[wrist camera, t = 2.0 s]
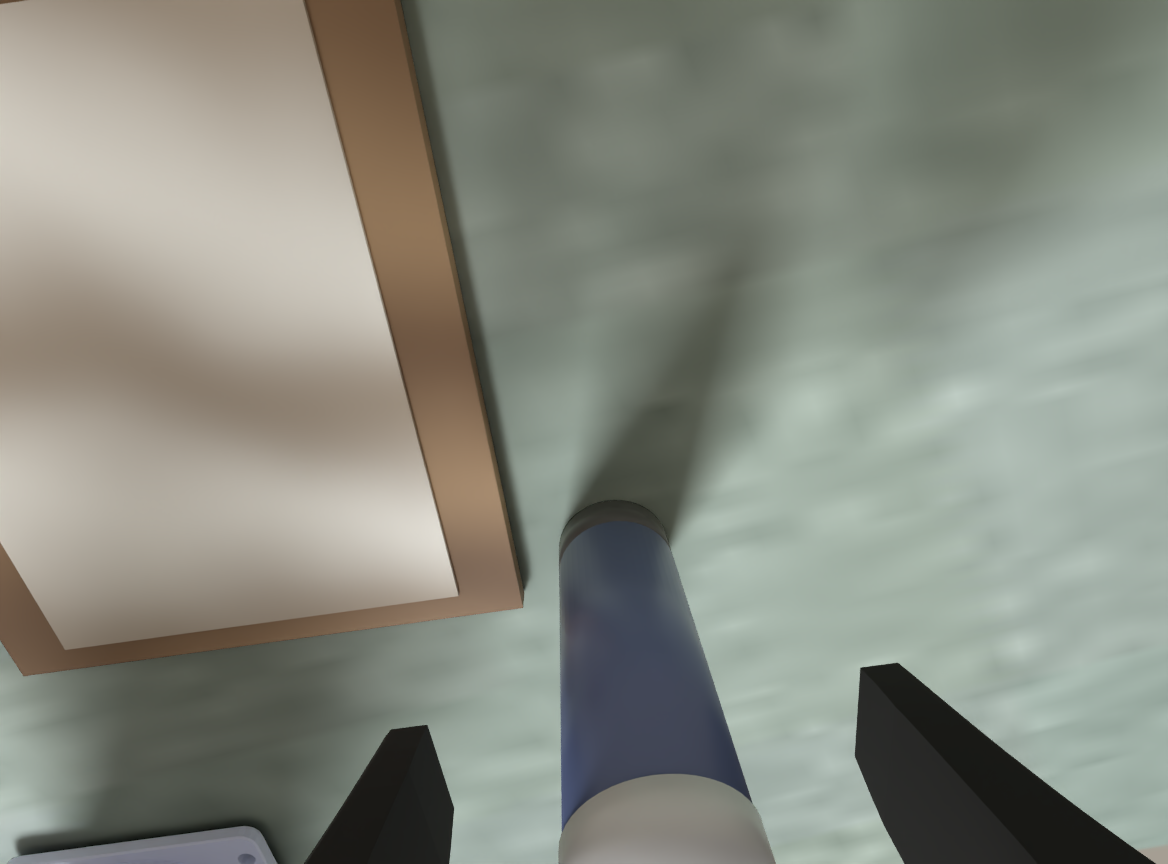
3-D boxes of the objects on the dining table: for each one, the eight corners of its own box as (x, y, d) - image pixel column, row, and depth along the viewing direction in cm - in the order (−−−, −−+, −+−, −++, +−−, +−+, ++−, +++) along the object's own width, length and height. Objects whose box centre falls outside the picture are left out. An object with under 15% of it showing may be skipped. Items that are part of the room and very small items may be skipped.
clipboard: (524, 593, 16) (521, 620, 15) (42, 658, 16) (6, 691, 15) (356, -211, 10) (332, -259, 8) (-429, -94, 10) (-545, -127, 9)
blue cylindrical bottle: (672, 586, 16) (785, 961, 8) (565, 600, 16) (575, 989, 8) (664, 491, 15) (783, 820, 7) (549, 506, 15) (541, 853, 7)
